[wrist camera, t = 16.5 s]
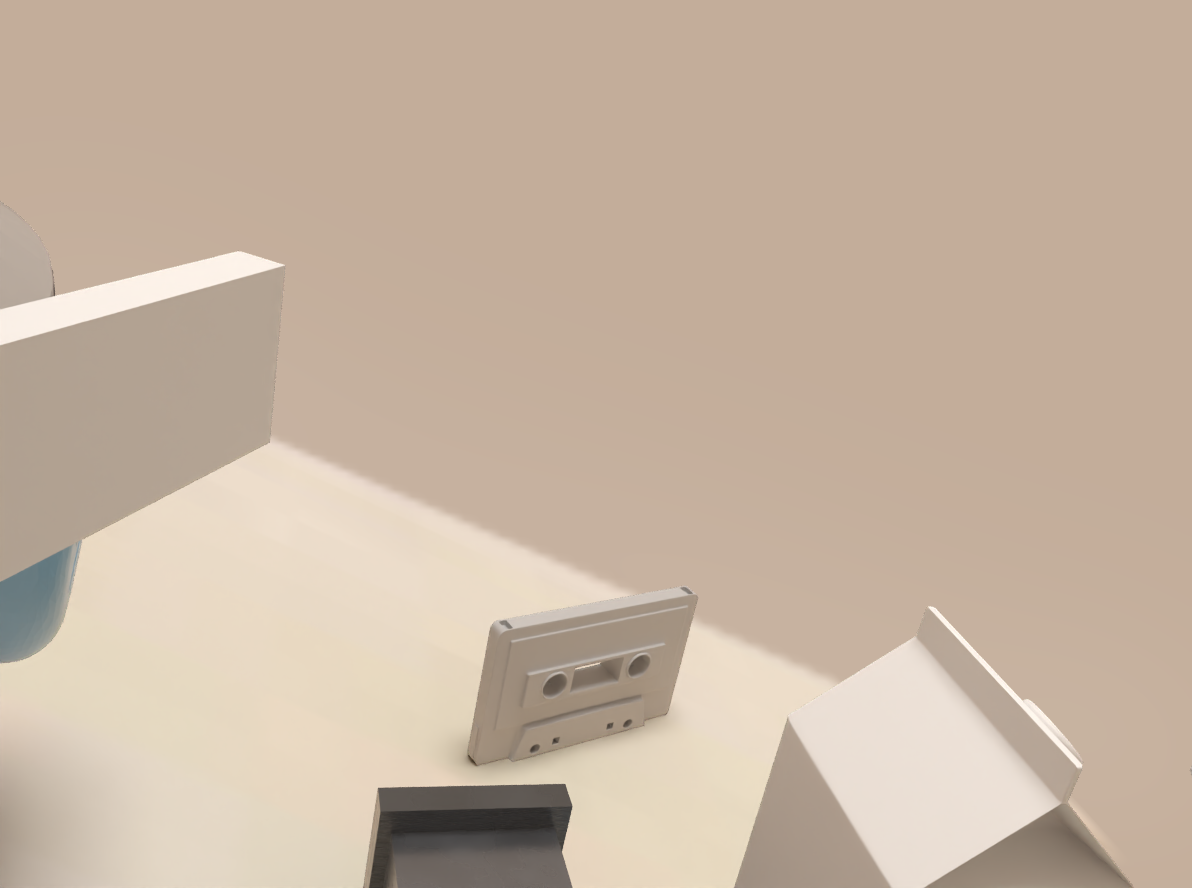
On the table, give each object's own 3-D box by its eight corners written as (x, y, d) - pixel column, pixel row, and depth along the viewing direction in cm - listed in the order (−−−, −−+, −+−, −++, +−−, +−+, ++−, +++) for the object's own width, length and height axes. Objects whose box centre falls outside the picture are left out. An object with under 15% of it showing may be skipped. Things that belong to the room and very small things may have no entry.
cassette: (478, 774, 51) (504, 637, 48) (460, 750, 52) (484, 615, 50) (674, 720, 58) (706, 597, 55) (653, 700, 59) (684, 579, 57)
